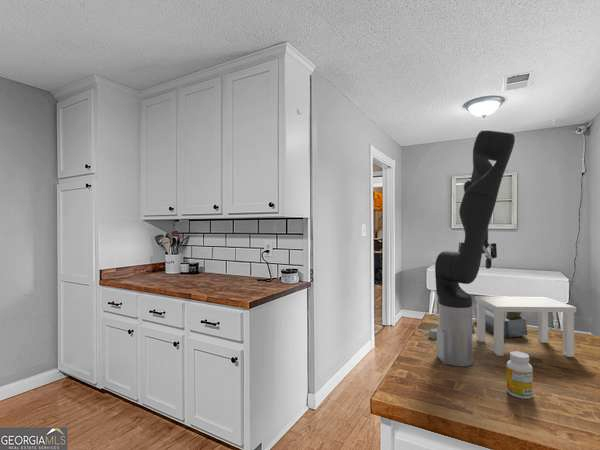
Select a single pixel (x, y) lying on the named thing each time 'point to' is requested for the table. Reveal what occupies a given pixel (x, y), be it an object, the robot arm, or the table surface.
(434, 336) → the plain stick
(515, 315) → the cork
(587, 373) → the table surface
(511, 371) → the supplement bottle
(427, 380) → the table surface
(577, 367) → the table surface
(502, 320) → the low table
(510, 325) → the steel crook
